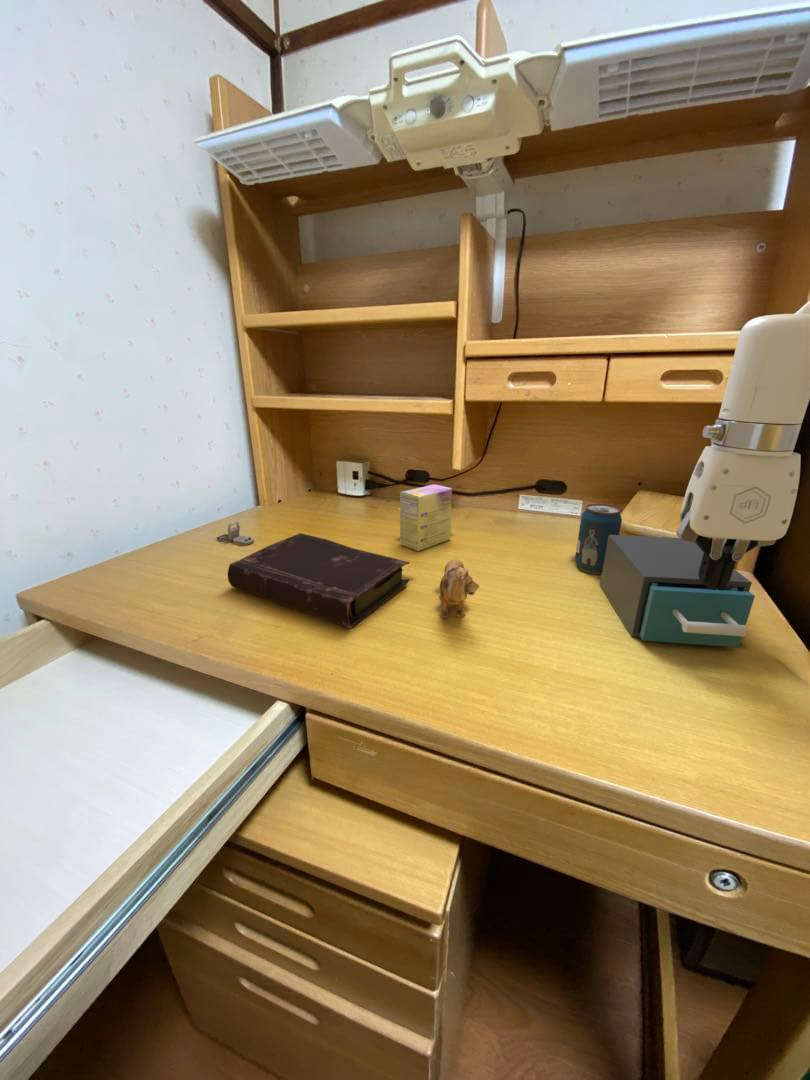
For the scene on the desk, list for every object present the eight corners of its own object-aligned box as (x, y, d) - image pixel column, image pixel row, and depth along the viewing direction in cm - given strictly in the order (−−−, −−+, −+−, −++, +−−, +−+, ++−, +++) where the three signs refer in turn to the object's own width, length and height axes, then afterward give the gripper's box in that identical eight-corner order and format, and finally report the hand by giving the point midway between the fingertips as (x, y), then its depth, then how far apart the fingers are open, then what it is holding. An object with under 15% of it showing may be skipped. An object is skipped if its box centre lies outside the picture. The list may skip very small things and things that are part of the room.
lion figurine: (477, 630, 67) (482, 574, 64) (441, 630, 67) (444, 574, 64) (461, 585, 81) (464, 537, 78) (431, 585, 81) (433, 537, 77)
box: (431, 533, 105) (433, 483, 101) (450, 540, 102) (453, 488, 97) (398, 545, 99) (399, 491, 94) (418, 552, 95) (419, 496, 91)
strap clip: (255, 542, 99) (253, 523, 98) (245, 546, 97) (243, 527, 95) (226, 535, 103) (223, 517, 101) (215, 540, 100) (212, 521, 99)
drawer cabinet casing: (733, 644, 64) (752, 582, 61) (631, 637, 66) (644, 576, 62) (681, 590, 80) (693, 538, 76) (599, 585, 81) (608, 534, 78)
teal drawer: (760, 668, 58) (778, 614, 55) (655, 660, 59) (668, 607, 56) (687, 594, 76) (698, 550, 74) (609, 589, 78) (617, 546, 75)
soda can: (607, 562, 91) (618, 503, 87) (616, 577, 84) (628, 514, 80) (571, 559, 92) (579, 501, 88) (577, 574, 85) (587, 512, 81)
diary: (347, 632, 66) (345, 601, 64) (229, 590, 78) (225, 563, 76) (411, 583, 81) (412, 557, 79) (304, 554, 93) (302, 531, 91)
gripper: (698, 440, 49) (660, 595, 55) (853, 445, 47) (795, 604, 53) (669, 431, 56) (638, 569, 62) (802, 435, 54) (757, 577, 60)
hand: (711, 585), depth 58 cm, fingers closed
